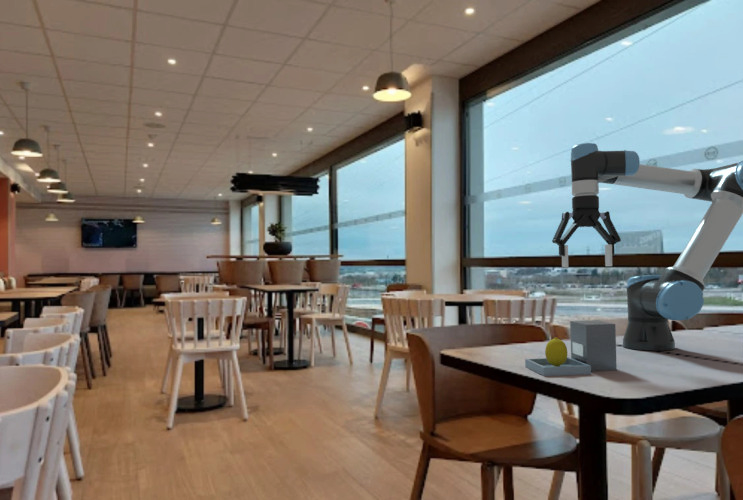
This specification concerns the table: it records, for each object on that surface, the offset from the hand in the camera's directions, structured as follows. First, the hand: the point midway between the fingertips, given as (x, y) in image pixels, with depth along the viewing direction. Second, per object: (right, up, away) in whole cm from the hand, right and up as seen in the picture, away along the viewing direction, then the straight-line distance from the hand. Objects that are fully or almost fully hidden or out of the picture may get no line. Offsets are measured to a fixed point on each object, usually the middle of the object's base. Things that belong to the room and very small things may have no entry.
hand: (587, 266), depth 164 cm
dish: (-16, -27, -20) cm, 37 cm away
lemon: (-16, -26, -20) cm, 37 cm away
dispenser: (-5, -26, -17) cm, 32 cm away
